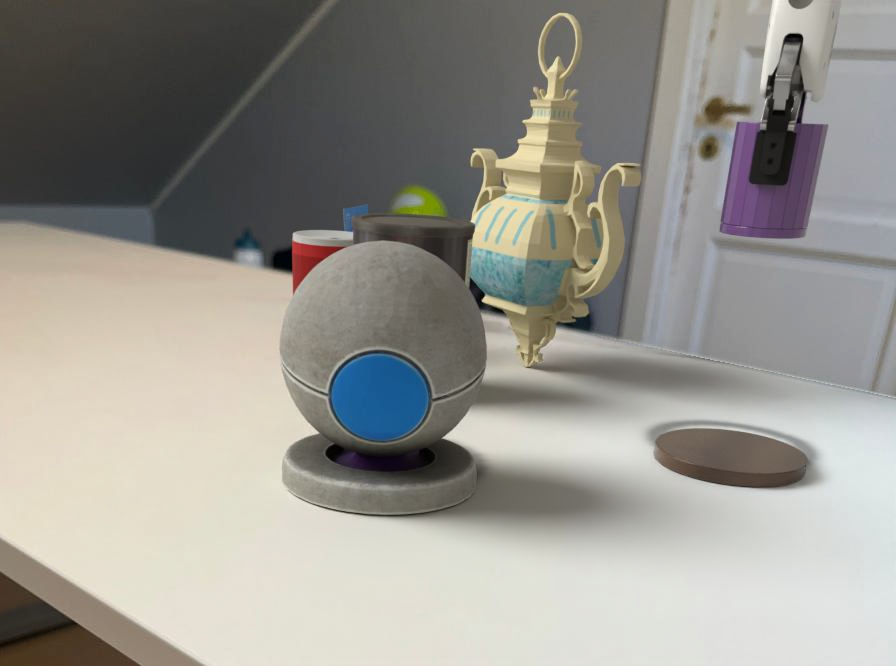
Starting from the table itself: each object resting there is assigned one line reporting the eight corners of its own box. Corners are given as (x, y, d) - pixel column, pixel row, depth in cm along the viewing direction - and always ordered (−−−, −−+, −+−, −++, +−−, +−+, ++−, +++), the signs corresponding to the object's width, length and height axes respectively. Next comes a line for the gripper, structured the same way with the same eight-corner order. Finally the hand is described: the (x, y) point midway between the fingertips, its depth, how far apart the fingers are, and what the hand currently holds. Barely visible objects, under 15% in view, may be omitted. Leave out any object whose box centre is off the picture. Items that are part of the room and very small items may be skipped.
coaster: (808, 454, 76) (811, 441, 75) (801, 497, 66) (805, 483, 66) (666, 432, 79) (668, 420, 78) (641, 471, 70) (643, 457, 69)
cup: (807, 233, 91) (830, 124, 87) (803, 241, 85) (827, 124, 80) (724, 227, 93) (742, 121, 89) (714, 234, 87) (732, 121, 83)
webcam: (471, 456, 71) (488, 235, 64) (481, 520, 60) (504, 261, 53) (293, 448, 71) (290, 225, 64) (270, 511, 59) (263, 249, 52)
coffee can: (434, 410, 81) (444, 229, 75) (327, 391, 85) (328, 217, 78) (481, 386, 90) (494, 220, 83) (382, 369, 93) (387, 210, 87)
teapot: (651, 390, 91) (712, 11, 77) (552, 401, 86) (598, -3, 72) (508, 339, 109) (536, 24, 95) (419, 345, 104) (434, 13, 90)
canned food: (341, 361, 96) (342, 241, 91) (277, 348, 99) (275, 232, 94) (383, 349, 102) (387, 235, 96) (322, 337, 105) (322, 228, 100)
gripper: (865, -78, 70) (811, 190, 79) (865, -44, 85) (819, 180, 93) (758, -75, 73) (716, 184, 81) (775, -42, 87) (738, 176, 95)
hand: (771, 180), depth 87 cm, fingers closed on cup, 7 cm apart
